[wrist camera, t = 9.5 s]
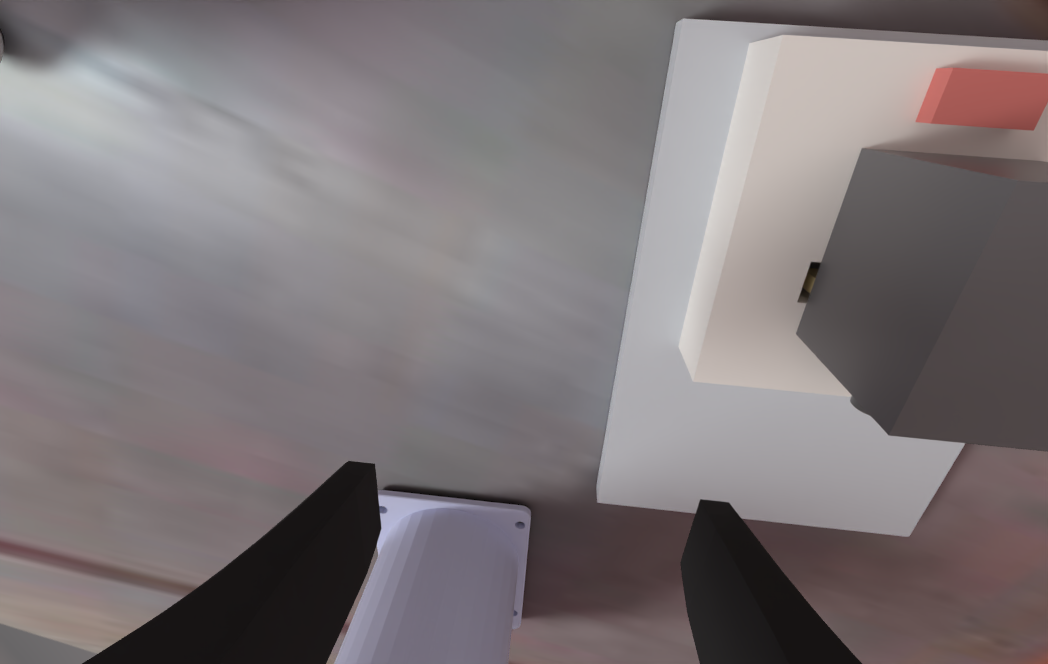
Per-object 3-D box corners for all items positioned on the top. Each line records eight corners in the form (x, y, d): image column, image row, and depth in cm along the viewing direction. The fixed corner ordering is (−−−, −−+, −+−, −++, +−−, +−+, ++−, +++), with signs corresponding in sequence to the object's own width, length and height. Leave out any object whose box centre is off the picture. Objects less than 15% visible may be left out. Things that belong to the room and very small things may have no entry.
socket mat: (895, 519, 23) (908, 537, 22) (596, 486, 23) (597, 502, 22) (1163, 52, 14) (1203, 49, 13) (676, 22, 15) (682, 18, 14)
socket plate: (678, 346, 19) (697, 391, 16) (749, 43, 14) (793, 32, 11) (949, 371, 18) (1018, 423, 15) (1114, 65, 13) (1254, 60, 11)
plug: (767, 359, 17) (861, 489, 11) (839, 143, 14) (1018, 180, 8) (899, 371, 17) (1060, 509, 11) (1004, 155, 14) (1301, 201, 8)
